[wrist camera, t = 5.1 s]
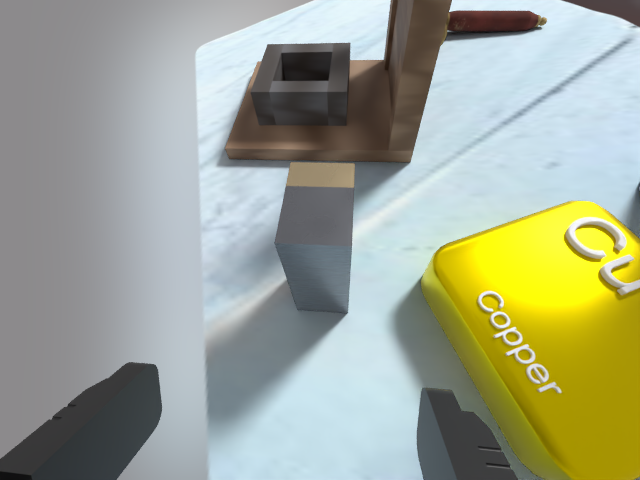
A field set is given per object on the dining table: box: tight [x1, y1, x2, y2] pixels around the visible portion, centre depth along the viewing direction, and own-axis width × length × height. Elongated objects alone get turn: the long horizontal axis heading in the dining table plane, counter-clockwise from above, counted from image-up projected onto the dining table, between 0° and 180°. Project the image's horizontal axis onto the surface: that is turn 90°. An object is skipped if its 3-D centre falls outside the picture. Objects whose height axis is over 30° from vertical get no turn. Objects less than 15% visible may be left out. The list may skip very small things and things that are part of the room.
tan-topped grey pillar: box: [275, 162, 355, 313], centre depth 21 cm, size 4×6×10 cm, turn 175°
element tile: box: [421, 201, 640, 480], centre depth 21 cm, size 15×15×5 cm
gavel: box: [440, 11, 547, 46], centre depth 46 cm, size 21×5×10 cm
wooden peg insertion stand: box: [225, 0, 452, 162], centre depth 31 cm, size 20×18×18 cm
